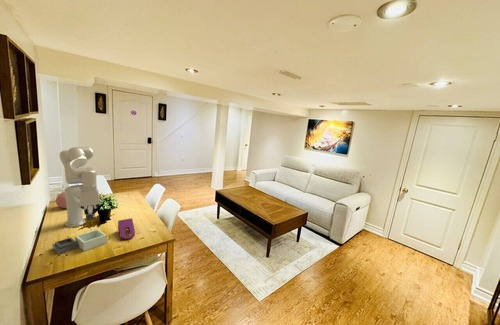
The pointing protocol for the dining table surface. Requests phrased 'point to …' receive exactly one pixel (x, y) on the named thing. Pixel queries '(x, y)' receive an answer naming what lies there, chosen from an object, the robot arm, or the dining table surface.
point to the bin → (91, 239)
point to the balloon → (62, 200)
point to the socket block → (64, 245)
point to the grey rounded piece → (90, 213)
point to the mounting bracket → (126, 225)
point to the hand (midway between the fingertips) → (90, 214)
